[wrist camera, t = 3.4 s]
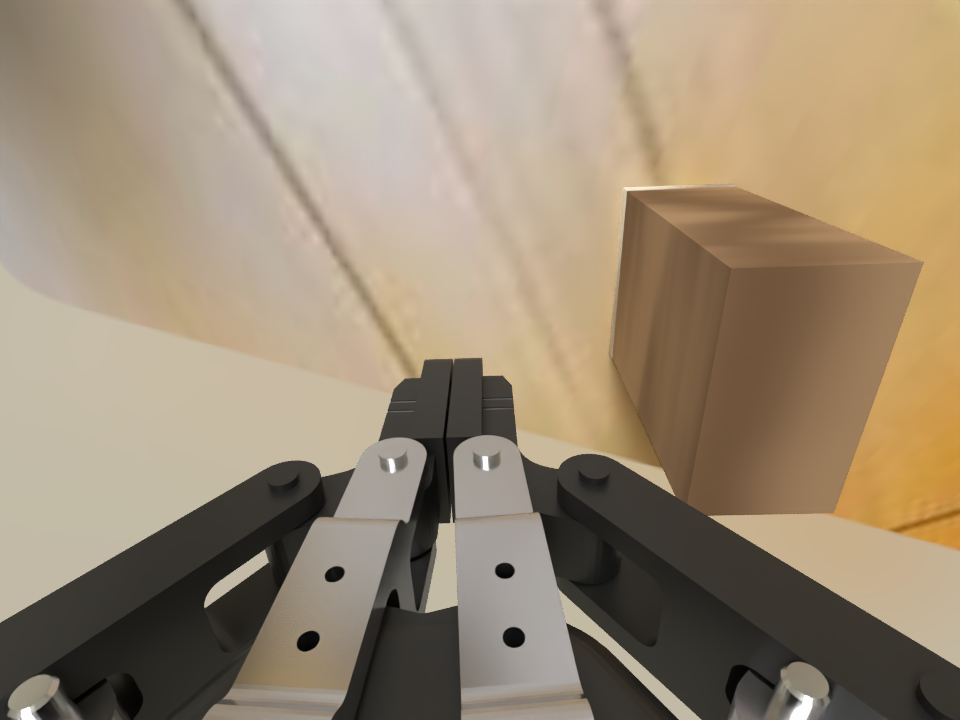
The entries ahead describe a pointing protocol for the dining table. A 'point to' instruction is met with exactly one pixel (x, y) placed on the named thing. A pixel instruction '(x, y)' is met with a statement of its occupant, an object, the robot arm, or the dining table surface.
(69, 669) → the robot arm
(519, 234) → the dining table surface
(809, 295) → the walnut block
